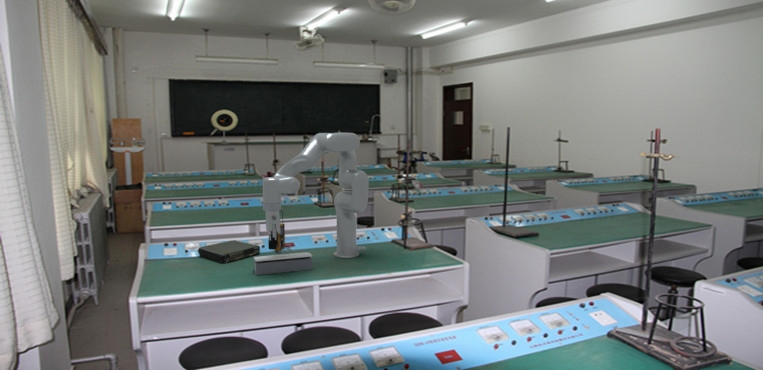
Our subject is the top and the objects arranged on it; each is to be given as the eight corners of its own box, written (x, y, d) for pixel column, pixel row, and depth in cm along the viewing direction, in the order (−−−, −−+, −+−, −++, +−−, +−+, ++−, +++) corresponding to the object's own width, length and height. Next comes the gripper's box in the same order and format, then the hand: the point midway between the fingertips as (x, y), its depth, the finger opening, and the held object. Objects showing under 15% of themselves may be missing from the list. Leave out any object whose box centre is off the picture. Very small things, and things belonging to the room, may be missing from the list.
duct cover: (307, 254, 218) (307, 252, 218) (312, 256, 210) (311, 254, 210) (253, 259, 210) (253, 256, 210) (255, 262, 202) (255, 259, 202)
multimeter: (290, 254, 236) (289, 214, 234) (271, 253, 238) (270, 213, 236) (300, 247, 251) (300, 209, 248) (283, 246, 253) (282, 208, 250)
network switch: (227, 265, 218) (227, 255, 217) (193, 258, 230) (192, 248, 229) (264, 254, 238) (263, 244, 237) (230, 248, 250) (230, 238, 249)
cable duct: (308, 265, 218) (308, 254, 217) (312, 269, 211) (311, 258, 211) (254, 270, 210) (254, 259, 209) (256, 275, 203) (255, 263, 202)
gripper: (284, 208, 197) (284, 252, 199) (278, 203, 211) (278, 244, 213) (265, 209, 194) (266, 253, 196) (260, 204, 208) (261, 245, 210)
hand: (272, 248), depth 204 cm, fingers closed
